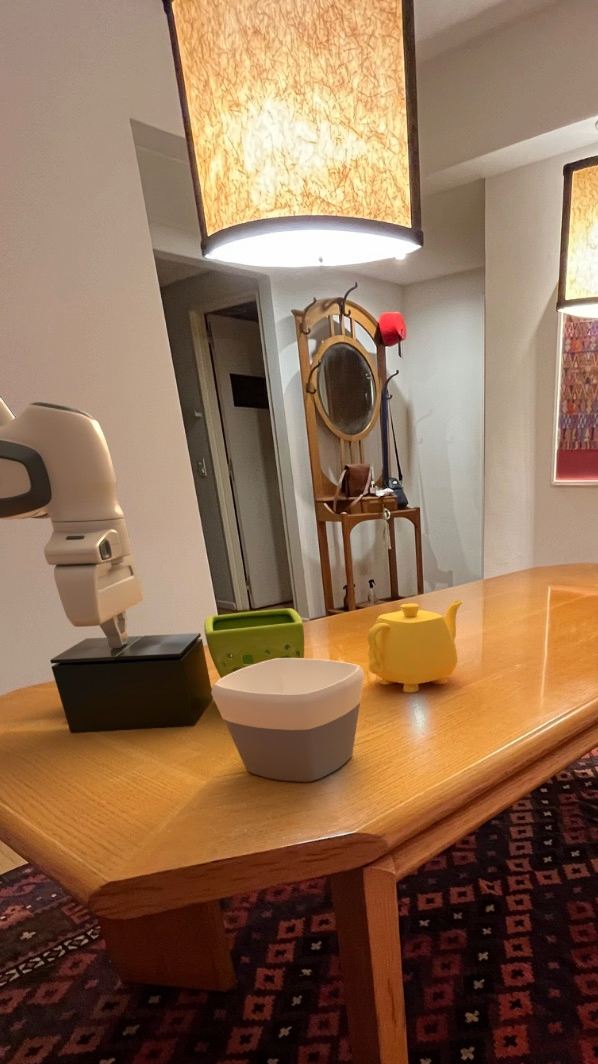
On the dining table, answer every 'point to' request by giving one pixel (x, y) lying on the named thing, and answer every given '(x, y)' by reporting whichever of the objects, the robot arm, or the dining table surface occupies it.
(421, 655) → the teapot
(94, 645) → the flap
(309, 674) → the bowl
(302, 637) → the flower pot
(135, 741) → the dining table surface
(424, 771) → the dining table surface
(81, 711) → the black lidded box
